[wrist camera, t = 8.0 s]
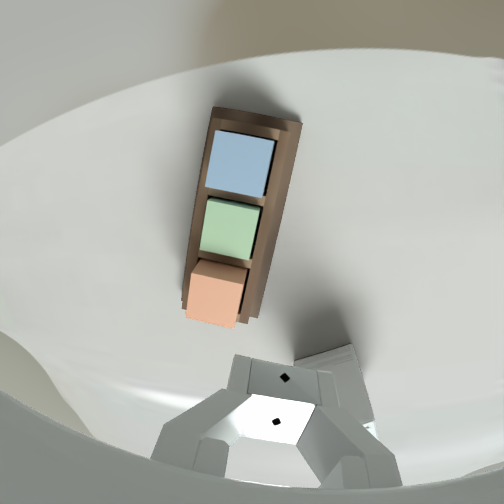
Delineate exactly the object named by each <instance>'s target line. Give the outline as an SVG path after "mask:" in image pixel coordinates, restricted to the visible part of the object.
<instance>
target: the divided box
mask: <svg viewBox="0 0 504 504" xmlns="http://www.w3.org/2000/svg"><path fill="white" fill-rule="evenodd" d="M302 124H303V123H299V122H295V121H290V120H286V119H281V118H276V117H272V116H267V115H262V114H256V113H251V112H245V111H240V110H234V109H227V108H221V107H214V106H213V108H212V113H211V118H210V122H209V127H208V132H207V137H206V143H205V148H204V153H203V158H202V164H201V169H200V175H199V181H198V187H197V193H196V199H195V205H194V211H193V217H192V224H191V230H190V237H189V244H188V251H187V259H186V266H185V274H184V282H183V290H182V298H181V301H183V303H182V309H185V310H187V302H188V294H189V287H190V279H191V273H192V271H193V270H194V268H195V267H196V265H197V264H198V262H199V261H200V259H201V258H205V259H210V260H214V261H219V262H223V263H228V264H232V265H237V266H241V267H246V268H248V269H247V274H246V278H245V283H244V288H243V292H242V297H241V302H240V306H239V310H238V314H237V318H236V322H240V323H245V324H248V320H249V317H254V318H258V315H259V311H260V307H261V303H262V298H263V294H264V290H265V286H266V282H267V278H268V274H269V270H270V265H271V261H272V257H273V253H274V249H275V244H276V240H277V236H278V232H279V227H280V223H281V219H282V214H283V210H284V206H285V201H286V197H287V192H288V188H289V184H290V179H291V175H292V170H293V166H294V161H295V157H296V152H297V147H298V143H299V138H300V134H301V129H302ZM215 130H217V131H223V132H229V133H235V134H240V135H245V136H251V137H256V138H261V139H266V140H271V141H274V147H273V152H272V156H271V161H270V166H269V170H268V175H267V180H266V184H265V189H264V193H263V196H262V198H258V197H253V196H249V195H244V194H239V193H234V192H229V191H224V190H219V189H214V188H209V187H205V183H206V178H207V172H208V167H209V161H210V156H211V151H212V146H213V140H214V135H215ZM213 196H216V197H221V198H226V199H231V200H236V201H241V202H246V203H250V204H255V205H260V206H261V209H260V214H259V219H258V223H257V228H256V233H255V238H254V242H253V247H252V250H251V254H250V258H249V260H245V259H240V258H235V257H231V256H226V255H222V254H217V253H213V252H208V251H204V250H199V249H200V243H201V236H202V230H203V224H204V218H205V212H206V206H207V200H209V199H210V198H211V197H213Z"/></svg>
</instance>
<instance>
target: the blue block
mask: <svg viewBox="0 0 504 504" xmlns="http://www.w3.org/2000/svg"><path fill="white" fill-rule="evenodd" d="M273 147H274V141H271V140H266V139H261V138H256V137H251V136H245V135H240V134H235V133H229V132H223V131H217V130H215V135H214V140H213V146H212V151H211V156H210V161H209V167H208V172H207V178H206V183H205V187H209V188H214V189H219V190H224V191H229V192H234V193H239V194H244V195H249V196H253V197H258V198H262V196H263V193H264V189H265V184H266V180H267V175H268V170H269V166H270V161H271V156H272V152H273Z"/></svg>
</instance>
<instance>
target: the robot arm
mask: <svg viewBox="0 0 504 504" xmlns="http://www.w3.org/2000/svg"><path fill="white" fill-rule="evenodd" d="M240 436H243V437H249V438H256V439H263V440H270V441H276V442H283V443H289V444H296V446H297V448H298V450H299V451H300V453H301V454H302V456H303V457H304V459H305V460H306V462H307V463H308V465H309V466H310V468H311V469H312V471H313V472H314V474H315V475H316V477H317V478H318V479H319V481H320V482H321V485H320V487H319V488H300V487H288V486H278V485H269V484H261V483H254V482H247V481H241V480H235V479H230V478H224V476H225V470H226V464H227V458H228V452H229V447H230V446H231V445H232V444H234V443H235V442H236V441H237V440H238V439H239V438H240ZM0 504H504V467H502V468H498V469H495V470H491V471H487V472H483V473H479V474H475V475H470V476H466V477H461V478H456V479H451V480H445V481H439V482H433V483H426V484H418V485H410V486H403V485H402V481H401V478H400V474H399V470H398V467H397V463H396V459H395V456H394V454H393V453H392V452H390V451H389V450H388V449H387V448H386V447H385V446H384V445H383V444H382V443H381V442H380V441H379V440H377V439H376V438H375V437H374V436H373V435H372V434H371V433H370V432H369V431H368V430H367V429H366V428H365V427H364V426H363V425H361V424H360V423H359V422H358V421H357V420H356V419H355V418H354V417H353V416H352V415H351V414H350V413H349V412H348V411H347V410H346V409H345V408H340V406H339V401H338V396H337V391H336V387H335V382H334V377H333V373H332V372H331V371H324V370H312V369H305V368H299V367H293V366H287V365H283V364H278V363H273V362H268V361H264V360H259V359H254V358H252V359H251V358H250V357H245V356H240V355H236V354H235V356H234V359H233V363H232V368H231V372H230V376H229V381H228V385H227V390H226V389H221V390H219V391H217V392H216V393H214V394H213V395H211V396H210V397H208V398H207V399H205V400H203V401H202V402H200V403H199V404H197V405H195V406H194V407H192V408H190V409H189V410H187V411H186V412H184V413H182V414H181V415H179V416H177V417H176V418H174V419H172V420H171V421H169V422H167V423H165V424H164V425H163V428H162V430H161V433H160V435H159V438H158V440H157V443H156V445H155V448H154V450H153V453H152V455H151V458H150V459H149V458H146V457H143V456H140V455H137V454H134V453H131V452H128V451H126V450H123V449H120V448H118V447H115V446H112V445H110V444H107V443H105V442H102V441H100V440H97V439H95V438H92V437H90V436H88V435H85V434H83V433H81V432H79V431H77V430H74V429H72V428H70V427H68V426H66V425H64V424H62V423H60V422H58V421H56V420H54V419H52V418H50V417H48V416H46V415H44V414H42V413H40V412H39V411H37V410H35V409H33V408H31V407H29V406H28V405H26V404H24V403H23V402H21V401H19V400H18V399H16V398H14V397H13V396H11V395H9V394H8V393H6V392H5V391H3V390H2V389H0Z"/></svg>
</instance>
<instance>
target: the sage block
mask: <svg viewBox="0 0 504 504" xmlns="http://www.w3.org/2000/svg"><path fill="white" fill-rule="evenodd" d="M260 209H261V206H260V205H255V204H250V203H246V202H241V201H236V200H231V199H226V198H221V197H216V196H213V197H211V198H210V199H209V200H207V206H206V212H205V218H204V224H203V230H202V236H201V243H200V249H199V250H204V251H208V252H213V253H217V254H222V255H226V256H231V257H235V258H240V259H245V260H249V258H250V254H251V250H252V247H253V242H254V238H255V233H256V228H257V223H258V219H259V214H260Z"/></svg>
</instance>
